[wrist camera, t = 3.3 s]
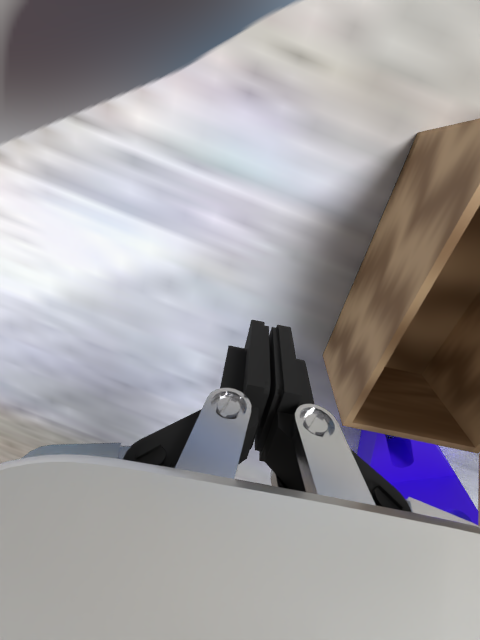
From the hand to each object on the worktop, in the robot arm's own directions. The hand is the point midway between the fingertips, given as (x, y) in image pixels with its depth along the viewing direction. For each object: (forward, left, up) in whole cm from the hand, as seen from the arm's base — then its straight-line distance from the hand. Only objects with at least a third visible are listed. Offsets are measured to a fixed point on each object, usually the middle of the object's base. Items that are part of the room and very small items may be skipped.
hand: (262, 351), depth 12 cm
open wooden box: (0, +15, -17) cm, 23 cm away
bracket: (+21, +22, -17) cm, 35 cm away
